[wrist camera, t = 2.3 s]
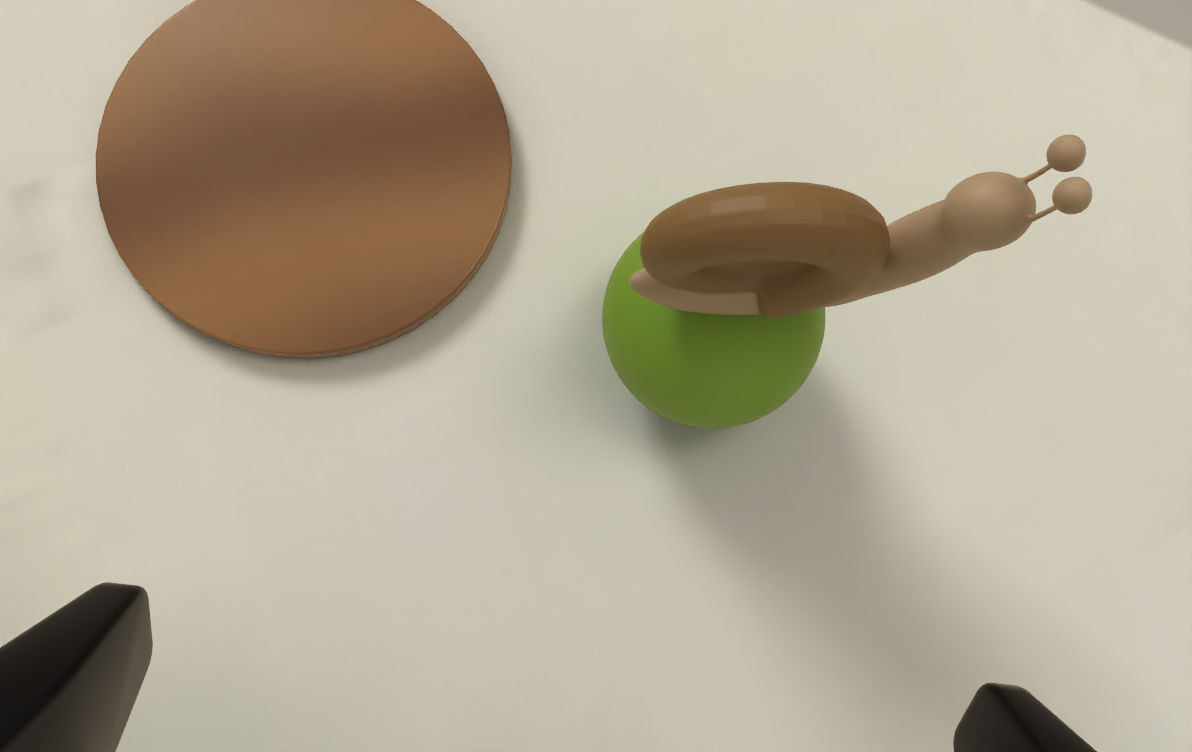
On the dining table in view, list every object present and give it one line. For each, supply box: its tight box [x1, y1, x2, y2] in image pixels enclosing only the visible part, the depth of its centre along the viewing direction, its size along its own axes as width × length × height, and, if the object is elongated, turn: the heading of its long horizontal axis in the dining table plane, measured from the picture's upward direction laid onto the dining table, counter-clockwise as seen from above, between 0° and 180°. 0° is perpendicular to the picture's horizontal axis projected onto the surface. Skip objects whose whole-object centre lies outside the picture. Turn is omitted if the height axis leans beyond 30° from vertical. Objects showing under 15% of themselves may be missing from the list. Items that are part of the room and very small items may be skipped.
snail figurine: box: [602, 135, 1092, 428], centre depth 18 cm, size 5×6×12 cm
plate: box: [96, 0, 512, 358], centre depth 24 cm, size 11×11×1 cm
